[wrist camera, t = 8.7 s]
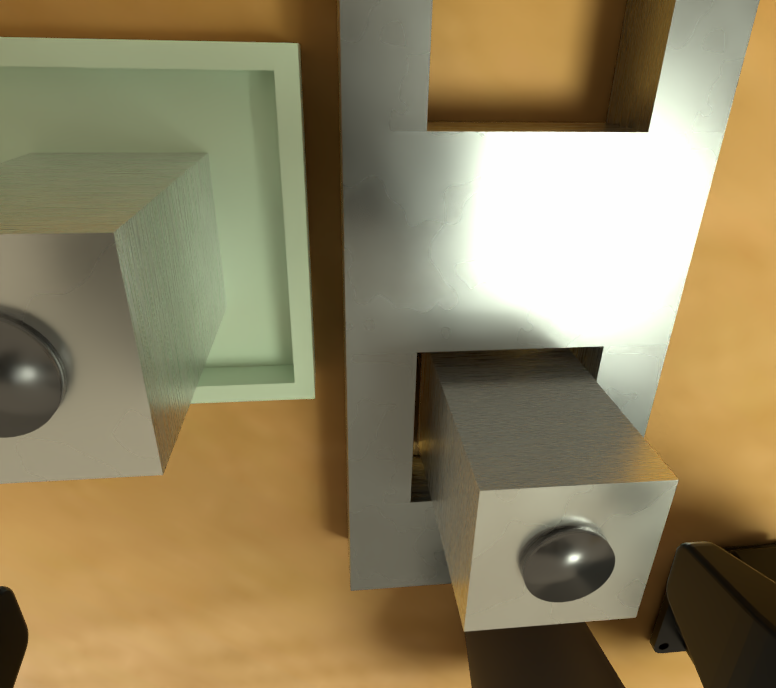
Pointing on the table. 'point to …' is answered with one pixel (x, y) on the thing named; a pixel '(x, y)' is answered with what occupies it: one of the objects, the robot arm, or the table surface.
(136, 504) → the table surface
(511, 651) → the coffee cup
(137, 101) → the tray
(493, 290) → the grey socket board
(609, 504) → the nut
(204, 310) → the nut
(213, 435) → the table surface
